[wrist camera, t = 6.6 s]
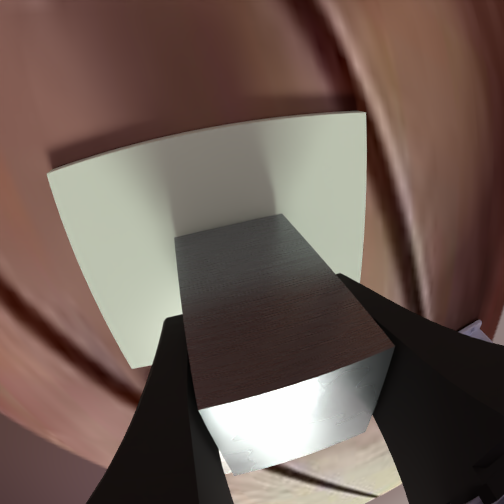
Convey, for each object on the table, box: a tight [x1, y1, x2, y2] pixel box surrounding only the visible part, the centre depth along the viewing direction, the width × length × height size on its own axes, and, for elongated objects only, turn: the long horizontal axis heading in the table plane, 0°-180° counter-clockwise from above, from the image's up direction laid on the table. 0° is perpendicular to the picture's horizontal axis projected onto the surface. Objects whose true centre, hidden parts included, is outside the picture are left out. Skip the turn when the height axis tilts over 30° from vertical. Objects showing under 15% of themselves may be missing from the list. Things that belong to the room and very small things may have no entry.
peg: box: [174, 213, 395, 476], centre depth 9 cm, size 4×4×7 cm
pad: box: [47, 111, 367, 369], centre depth 13 cm, size 12×10×1 cm
